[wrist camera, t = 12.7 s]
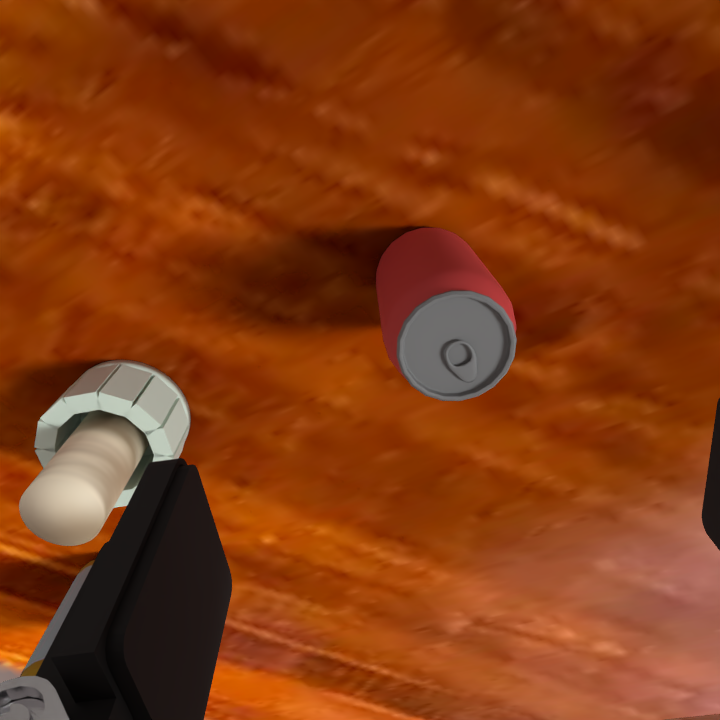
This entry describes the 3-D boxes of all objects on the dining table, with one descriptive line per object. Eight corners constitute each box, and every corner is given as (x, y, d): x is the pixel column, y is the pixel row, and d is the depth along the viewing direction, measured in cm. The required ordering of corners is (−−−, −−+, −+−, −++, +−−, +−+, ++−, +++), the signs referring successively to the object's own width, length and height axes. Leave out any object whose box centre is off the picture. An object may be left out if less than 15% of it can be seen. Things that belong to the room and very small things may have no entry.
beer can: (400, 339, 40) (420, 431, 29) (357, 253, 38) (361, 318, 27) (491, 298, 39) (547, 378, 28) (453, 206, 37) (498, 255, 26)
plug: (82, 398, 40) (5, 487, 31) (145, 387, 40) (85, 473, 31) (106, 452, 42) (39, 551, 33) (165, 441, 42) (114, 538, 33)
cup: (51, 371, 41) (13, 406, 36) (169, 349, 40) (146, 382, 36) (95, 471, 44) (66, 515, 39) (205, 453, 44) (188, 495, 39)
